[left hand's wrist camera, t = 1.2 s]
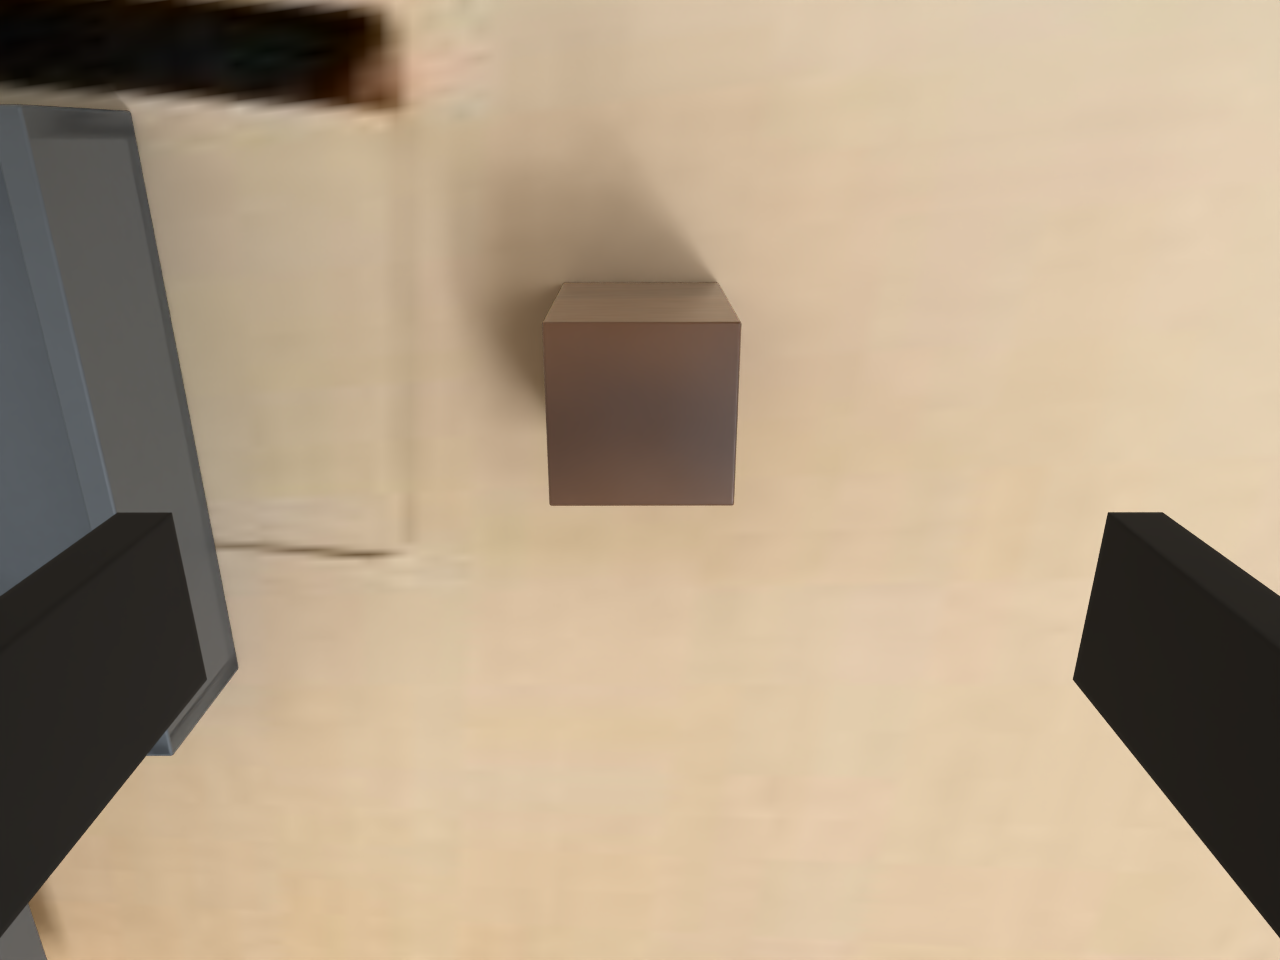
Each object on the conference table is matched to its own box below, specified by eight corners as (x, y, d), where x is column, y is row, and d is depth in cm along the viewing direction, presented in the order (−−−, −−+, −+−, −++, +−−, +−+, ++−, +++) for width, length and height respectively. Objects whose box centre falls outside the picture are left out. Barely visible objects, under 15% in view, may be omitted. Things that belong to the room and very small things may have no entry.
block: (563, 282, 25) (541, 322, 20) (718, 282, 25) (741, 322, 20) (567, 430, 27) (549, 506, 21) (714, 430, 27) (733, 506, 21)
